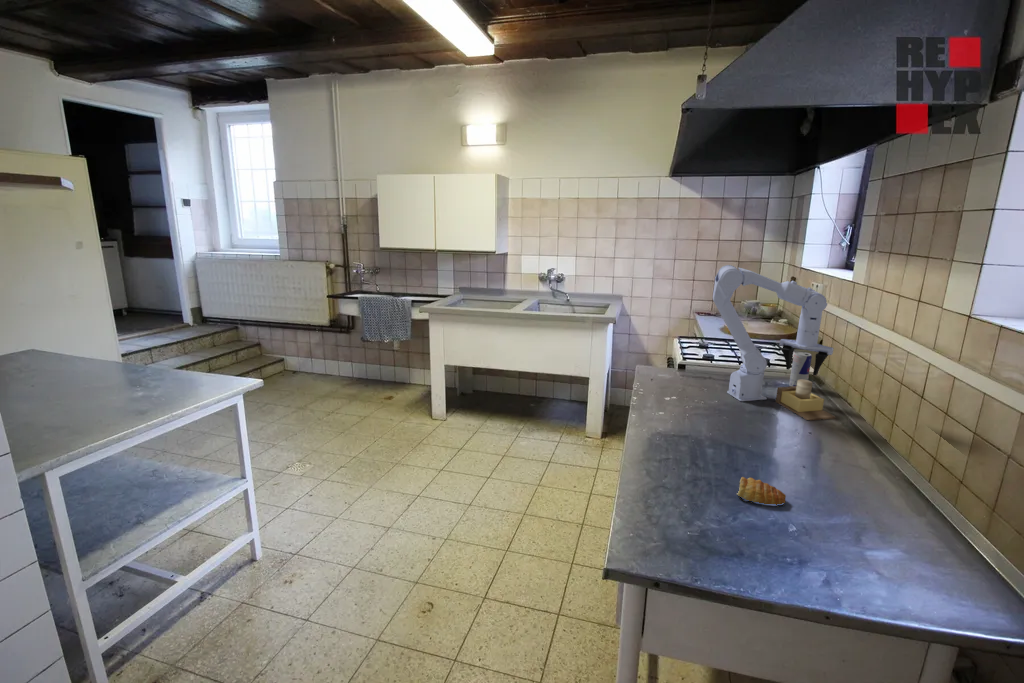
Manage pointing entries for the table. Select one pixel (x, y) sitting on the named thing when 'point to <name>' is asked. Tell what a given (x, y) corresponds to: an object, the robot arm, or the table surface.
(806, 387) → the birch dowel
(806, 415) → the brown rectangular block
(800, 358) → the energy drink
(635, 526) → the table surface
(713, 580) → the table surface
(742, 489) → the pastry
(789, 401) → the socket block
